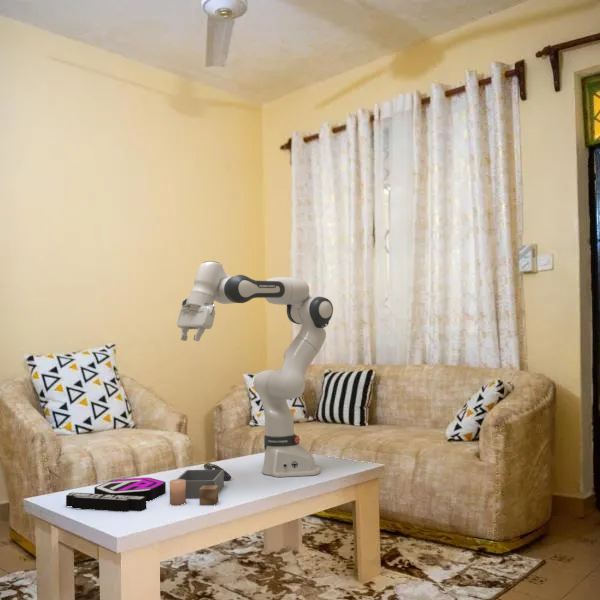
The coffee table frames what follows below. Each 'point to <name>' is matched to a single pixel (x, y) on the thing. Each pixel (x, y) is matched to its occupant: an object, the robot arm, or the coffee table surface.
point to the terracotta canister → (177, 492)
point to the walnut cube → (208, 495)
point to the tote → (201, 480)
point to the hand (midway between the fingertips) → (189, 340)
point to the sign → (119, 495)
